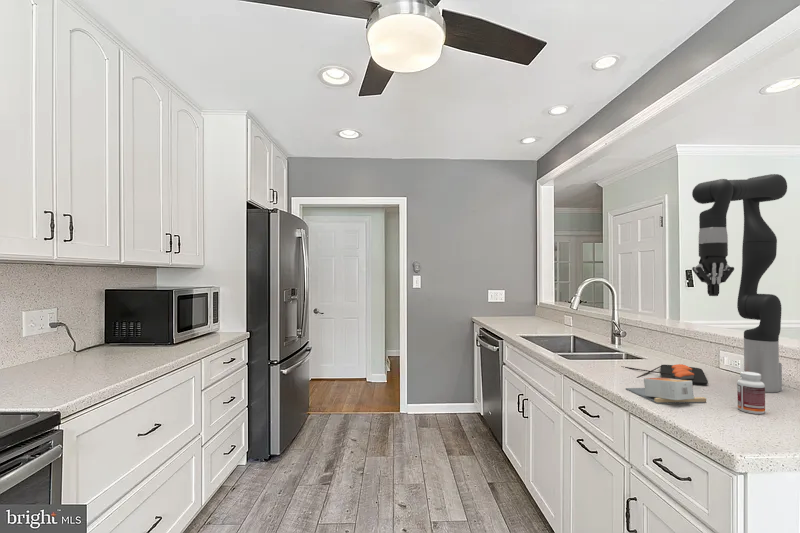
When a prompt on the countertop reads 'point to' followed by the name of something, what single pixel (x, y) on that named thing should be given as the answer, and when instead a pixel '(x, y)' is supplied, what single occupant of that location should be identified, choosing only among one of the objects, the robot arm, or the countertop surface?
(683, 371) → the sushi plate
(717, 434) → the countertop surface
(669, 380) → the small box
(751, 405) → the pill bottle
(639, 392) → the board
